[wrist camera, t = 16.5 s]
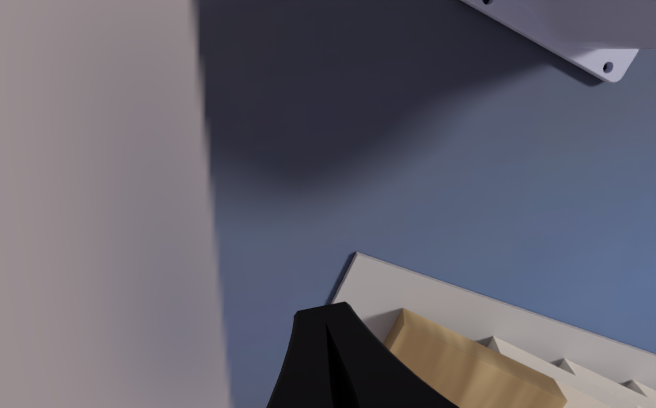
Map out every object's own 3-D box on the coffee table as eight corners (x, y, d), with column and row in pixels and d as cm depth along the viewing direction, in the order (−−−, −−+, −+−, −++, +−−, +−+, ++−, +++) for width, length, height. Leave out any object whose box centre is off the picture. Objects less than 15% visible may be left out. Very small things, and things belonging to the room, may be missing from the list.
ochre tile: (364, 395, 23) (517, 469, 22) (404, 324, 21) (567, 401, 21) (365, 374, 24) (508, 443, 24) (403, 307, 23) (553, 378, 23)
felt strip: (290, 384, 24) (291, 388, 24) (356, 251, 22) (357, 254, 21) (672, 474, 33) (676, 478, 32) (749, 386, 30) (754, 389, 30)
